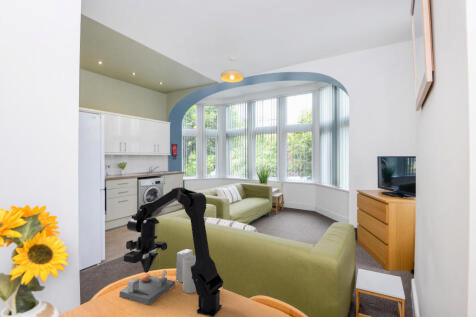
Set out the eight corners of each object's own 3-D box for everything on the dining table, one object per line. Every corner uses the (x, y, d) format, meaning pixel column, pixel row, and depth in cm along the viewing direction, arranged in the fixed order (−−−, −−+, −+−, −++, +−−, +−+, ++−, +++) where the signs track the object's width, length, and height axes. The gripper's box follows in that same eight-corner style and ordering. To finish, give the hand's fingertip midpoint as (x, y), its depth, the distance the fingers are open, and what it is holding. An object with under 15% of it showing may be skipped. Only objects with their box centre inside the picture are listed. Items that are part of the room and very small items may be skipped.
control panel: (174, 286, 90) (175, 276, 91) (148, 305, 77) (149, 293, 77) (148, 279, 95) (148, 270, 96) (119, 296, 82) (120, 285, 82)
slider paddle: (138, 288, 83) (139, 279, 84) (132, 292, 81) (132, 282, 81) (133, 287, 84) (134, 278, 84) (127, 291, 81) (127, 281, 82)
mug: (196, 294, 84) (197, 262, 85) (179, 293, 85) (180, 261, 86) (203, 281, 94) (203, 253, 95) (187, 281, 95) (188, 252, 96)
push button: (151, 279, 91) (152, 275, 91) (146, 282, 88) (146, 278, 88) (146, 277, 92) (146, 273, 93) (140, 281, 89) (140, 277, 90)
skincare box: (185, 275, 100) (186, 248, 101) (192, 277, 98) (193, 250, 99) (175, 280, 95) (176, 252, 96) (182, 283, 93) (183, 254, 94)
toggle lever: (164, 283, 88) (168, 270, 88) (161, 286, 86) (165, 272, 86) (160, 281, 89) (165, 268, 89) (157, 283, 87) (161, 270, 87)
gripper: (149, 227, 103) (148, 261, 102) (114, 237, 86) (112, 278, 85) (168, 229, 99) (167, 265, 98) (135, 240, 82) (133, 284, 81)
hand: (146, 272), depth 91 cm, fingers closed
